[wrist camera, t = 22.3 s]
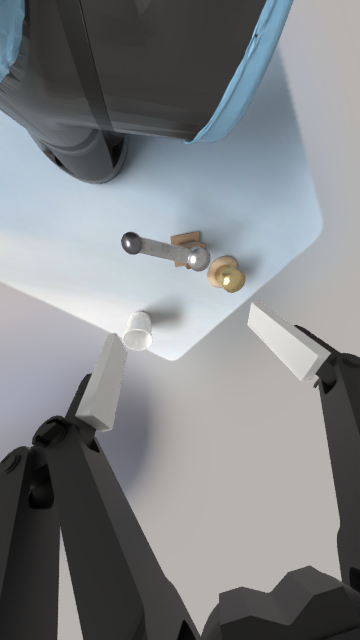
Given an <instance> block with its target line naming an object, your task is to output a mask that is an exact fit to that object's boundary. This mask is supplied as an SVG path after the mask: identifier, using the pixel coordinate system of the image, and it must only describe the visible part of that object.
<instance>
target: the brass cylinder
mask: <svg viewBox="0 0 360 640" xmlns="http://www.w3.org/2000/svg"><path fill="white" fill-rule="evenodd" d="M214 278H215V281H216V282H217V283H218V284H220V285H221V286H222V287H223V288H224V289H225V290H226V291H227V292H230V293H234V292H237V291H238V290H240V289H241V288H242V287H243V285H244V283H245V275H244V273H242V272H241V271H239V270H237V269H235V268H233V267H231V266H230V265H227V264H224V265H221V266H219V267H218V268H217V269H216V271H215V274H214Z"/></svg>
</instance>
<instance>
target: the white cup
mask: <svg viewBox="0 0 360 640" xmlns="http://www.w3.org/2000/svg"><path fill="white" fill-rule="evenodd" d="M122 341H123V344H124V345H125V346H126V347H127V348H129V349H131V350H144V349H146V348H148V347H149V346H150V345H151V343H152V327H151V320H150V316H149V315H148V314H147V313H145V312H139V311H137V312H135V313H133V314H132V315H131V316H130V318H129V321H128V323H127V326H126V328H125V331H124V334H123V337H122Z"/></svg>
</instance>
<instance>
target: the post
mask: <svg viewBox="0 0 360 640" xmlns="http://www.w3.org/2000/svg"><path fill="white" fill-rule="evenodd" d="M170 238H171V244H172V245H176V246H180V247H184V248H188V249H192V248H193V247H196V246H199V247H202V248H204V249H205V244H203V243H201V242H200V239H199V231H197V232H192V233H187V234H182V235H177V236H172V237H170ZM183 265H185V267H186V268H187V269H191V267H190V266H189V265H188V264H187V263H182V262H178V261H175V267H178V266H183Z"/></svg>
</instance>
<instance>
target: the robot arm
mask: <svg viewBox="0 0 360 640" xmlns="http://www.w3.org/2000/svg"><path fill="white" fill-rule="evenodd" d="M292 3H293V0H0V110H1V111H3V112H4V113H5V114H7V115H8V116H9V117H11V118H12V119H13V120H15V121H16V122H17V123H19V124H20V125H21V126H23V127H24V128H26V130H27V131H28V133H29V134H30V135H31V137H32V138H33V140H34V141H35V143H36V144H37V145H38V147H39V148H40V149H41V150H42V151H43V152H44V154H45V155H46V156H47V157H48V158H49V159H50V160H51V161H52V162H53V163H54V164H56V165H57V166H58V167H59V168H60V169H62V170H63V171H65V172H66V173H68V174H69V175H71V176H73V177H74V178H76V179H78V180H81V181H83V182H86V183H91V184H101V183H105V182H108V181H110V180H111V179H113V178H114V177H115V176H116V175H117V174H118V173H119V171H120V170H121V168H122V166H123V164H124V161H125V158H126V153H127V146H128V133H129V134H137V135H145V136H153V137H161V138H169V139H177V140H182V142H183V143H185V144H192V143H195V142H209V143H213V142H217V141H218V140H220V139H222V138H224V137H225V136H226V135H228V134H229V132H230V131H231V130H232V129H233V128H234V127H235V125H236V124H237V123H238V121H239V120H240V118H241V117H242V115H243V114H244V112H245V110H246V109H247V107H248V105H249V103H250V102H251V100H252V98H253V96H254V94H255V92H256V90H257V88H258V86H259V84H260V82H261V80H262V78H263V76H264V73H265V71H266V69H267V67H268V64H269V62H270V60H271V57H272V55H273V53H274V50H275V48H276V45H277V43H278V40H279V38H280V35H281V33H282V30H283V27H284V25H285V22H286V19H287V17H288V14H289V11H290V8H291V5H292ZM248 326H249V327H250V328H251V329H252V330H253V331H254V332H255V333H256V334H257V335H258V336H259V337H260V338H261V339H262V340H263V342H264V343H265V344H266V345H267V346H268V347H269V348H270V349H271V350H272V351H273V352H274V353H275V354H276V355H277V356H278V358H279V359H280V360H281V361H282V362H283V363H284V364H285V365H286V366H287V367H288V368H289V369H290V370H291V371H292V372H293V373H294V375H295V376H296V377H297V378H298V379H299V380H300V381H306V380H310V379H312V378H313V377H314V375H315V374H316V375H317V376H318V377H319V379H318V380H317V381H316V383H315V384H314V387H315V388H316V387H317V385H318V384H319V390H320V397H321V403H322V409H323V415H324V422H325V428H326V434H327V440H328V447H329V453H330V460H331V466H332V472H333V479H334V485H335V490H336V497H337V504H338V510H339V516H340V528H339V531H338V534H337V548H338V556H339V563H340V570H341V577H342V582H341V581H339V580H337V579H336V578H334V577H332V576H329V575H327V574H325V573H321V572H320V571H318V570H316V569H315V568H313V567H312V566H307V567H304V568H301V569H298V570H294V571H291V572H288V573H287V574H286V576H285V577H284V578H283V579H282V580H281V581H280V582H279V584H278V585H277V586H276V587H275V588H274V589H273V591H271V592H270V593H265V592H261V591H257V590H253V589H249V588H245V587H239V588H236V589H233V590H229V591H226V592H223V593H220V594H219V603H218V605H217V606H216V607H215V608H214V609H213V611H212V612H211V614H210V616H209V618H208V620H207V622H206V624H205V626H204V630H203V632H202V635H201V636H200V635H199V633H198V631H197V629H196V627H195V625H194V623H193V621H192V619H191V617H190V615H189V613H188V611H187V609H186V607H185V605H184V603H183V601H182V599H181V597H180V595H179V594H178V592H177V590H176V589H175V587H174V586H173V584H172V583H171V582H170V581H169V580H168V579H167V578H166V577H165V575H164V573H163V571H162V570H161V567H160V566H159V564H158V561H157V559H156V557H155V555H154V553H153V551H152V549H151V547H150V545H149V543H148V541H147V539H146V537H145V535H144V533H143V531H142V529H141V527H140V525H139V523H138V521H137V519H136V517H135V515H134V513H133V511H132V509H131V507H130V505H129V503H128V501H127V499H126V497H125V495H124V493H123V491H122V489H121V487H120V485H119V483H118V481H117V479H116V476H115V475H114V472H113V471H112V468H111V466H110V464H109V462H108V460H107V458H106V456H105V454H104V452H103V450H102V448H101V447H100V444H99V442H98V440H97V438H96V437H95V436H94V435H95V431H96V430H98V431H99V432H104V431H108V430H111V429H112V428H113V423H114V418H115V413H116V408H117V403H118V397H119V392H120V387H121V382H122V377H123V372H124V367H125V362H126V357H127V351H126V349H125V348H124V346H123V344H122V342H121V341H120V339H119V337H118V335H117V334H116V333H114V334H109V335H108V336H107V338H106V341H105V343H104V346H103V348H102V351H101V353H100V355H99V358H98V360H97V363H96V365H95V368H94V371H93V373H91V374H87V375H86V376H85V377H84V379H83V380H82V381H81V383H80V385H79V388H78V390H77V392H76V394H75V397H74V399H73V401H72V403H71V405H70V407H69V410H68V412H67V414H66V416H65V418H63V417H62V416H54V417H51V418H50V419H48V420H47V421H45V422H44V423H43V424H42V425H41V426H40V427H39V429H38V430H37V432H36V433H35V435H34V437H33V439H32V444H33V445H34V446H33V447H31V448H29V447H26V446H22V447H19V448H17V449H14V450H13V451H12V452H11V453H9V454H8V455H7V456H6V457H5V458H4V459H3V460H2V461H1V463H0V640H57V628H58V589H59V588H58V587H59V546H60V527H61V531H62V537H63V541H64V546H65V551H66V556H67V561H68V566H69V571H70V576H71V581H72V585H73V591H74V595H75V601H76V605H77V610H78V615H79V620H80V625H81V630H82V635H83V640H360V357H357V356H355V355H352V354H348V353H340V352H338V351H337V350H335V349H334V348H332V347H331V346H329V345H328V344H327V343H325V342H324V341H322V340H321V339H319V338H317V337H316V336H315V335H314V334H311V333H310V332H309V331H308V330H306V329H305V328H303V327H300V326H298V325H294V326H293V325H292V324H290V323H289V322H288V321H286V320H285V319H283V318H282V317H280V316H279V315H278V314H276V313H275V312H274V311H272V310H271V309H270V308H268V307H267V306H265V305H264V304H263V303H261V302H260V301H256V302H252V303H251V309H250V314H249V320H248Z"/></svg>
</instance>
